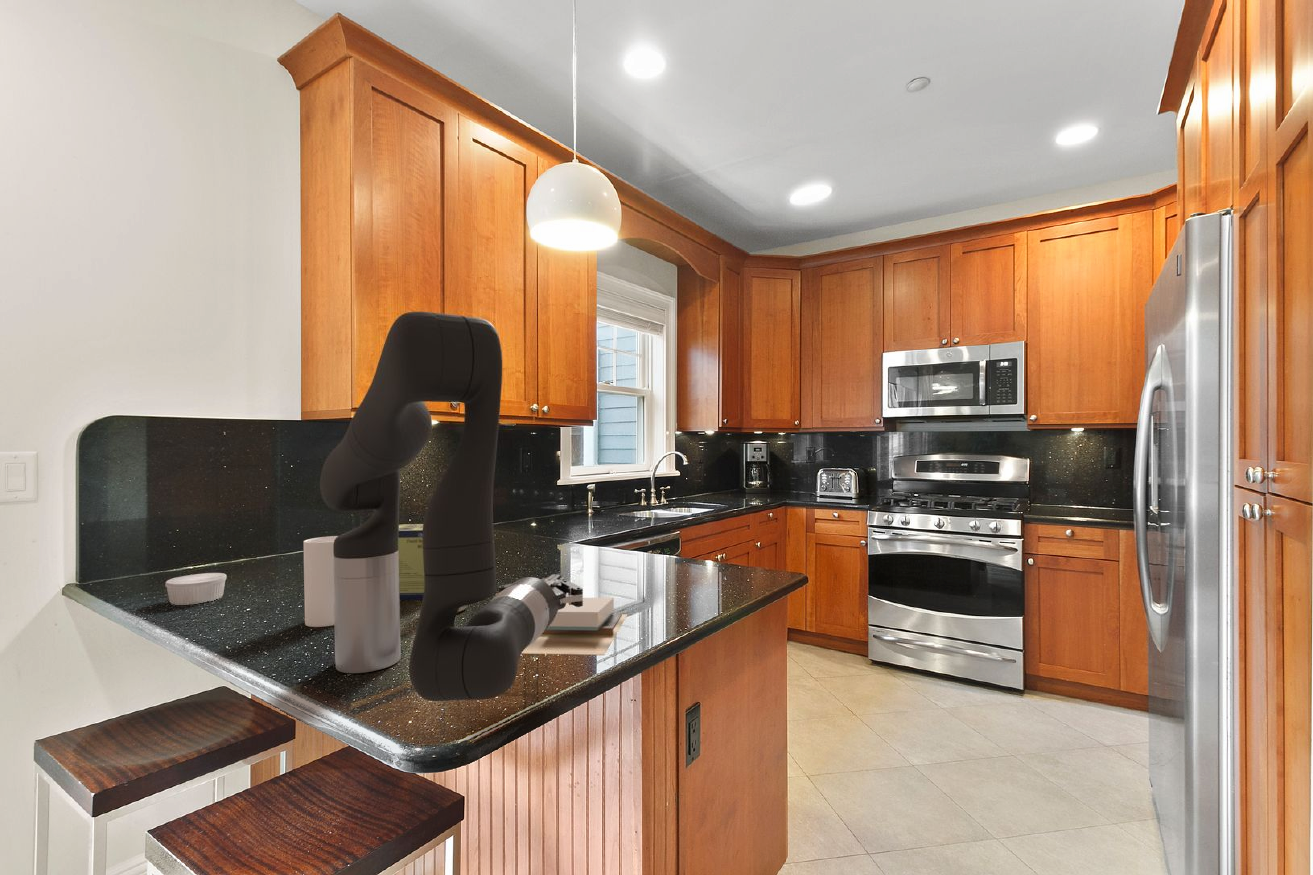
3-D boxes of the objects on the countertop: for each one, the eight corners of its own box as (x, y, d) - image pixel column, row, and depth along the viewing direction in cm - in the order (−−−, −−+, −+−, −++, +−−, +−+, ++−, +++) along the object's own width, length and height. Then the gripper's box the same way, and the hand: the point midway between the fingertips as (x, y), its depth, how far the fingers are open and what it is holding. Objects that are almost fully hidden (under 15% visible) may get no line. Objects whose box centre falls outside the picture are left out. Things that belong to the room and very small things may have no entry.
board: (604, 661, 94) (603, 646, 94) (516, 659, 96) (516, 645, 96) (627, 619, 116) (627, 607, 116) (555, 618, 118) (555, 607, 118)
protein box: (445, 599, 135) (444, 528, 135) (374, 600, 135) (373, 530, 135) (460, 587, 145) (459, 522, 146) (394, 589, 145) (393, 524, 145)
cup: (299, 621, 120) (298, 539, 120) (344, 612, 126) (342, 534, 126) (312, 629, 114) (310, 544, 114) (358, 619, 120) (356, 538, 120)
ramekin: (202, 607, 133) (202, 583, 133) (151, 608, 133) (151, 584, 133) (238, 594, 144) (238, 572, 144) (192, 595, 144) (191, 572, 144)
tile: (597, 612, 102) (613, 597, 116) (545, 611, 103) (567, 597, 117) (597, 630, 102) (613, 614, 116) (545, 629, 103) (567, 613, 117)
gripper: (570, 586, 78) (598, 557, 95) (470, 583, 79) (516, 556, 96) (570, 644, 78) (599, 605, 95) (470, 641, 79) (516, 603, 96)
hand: (557, 580), depth 96 cm, fingers closed
